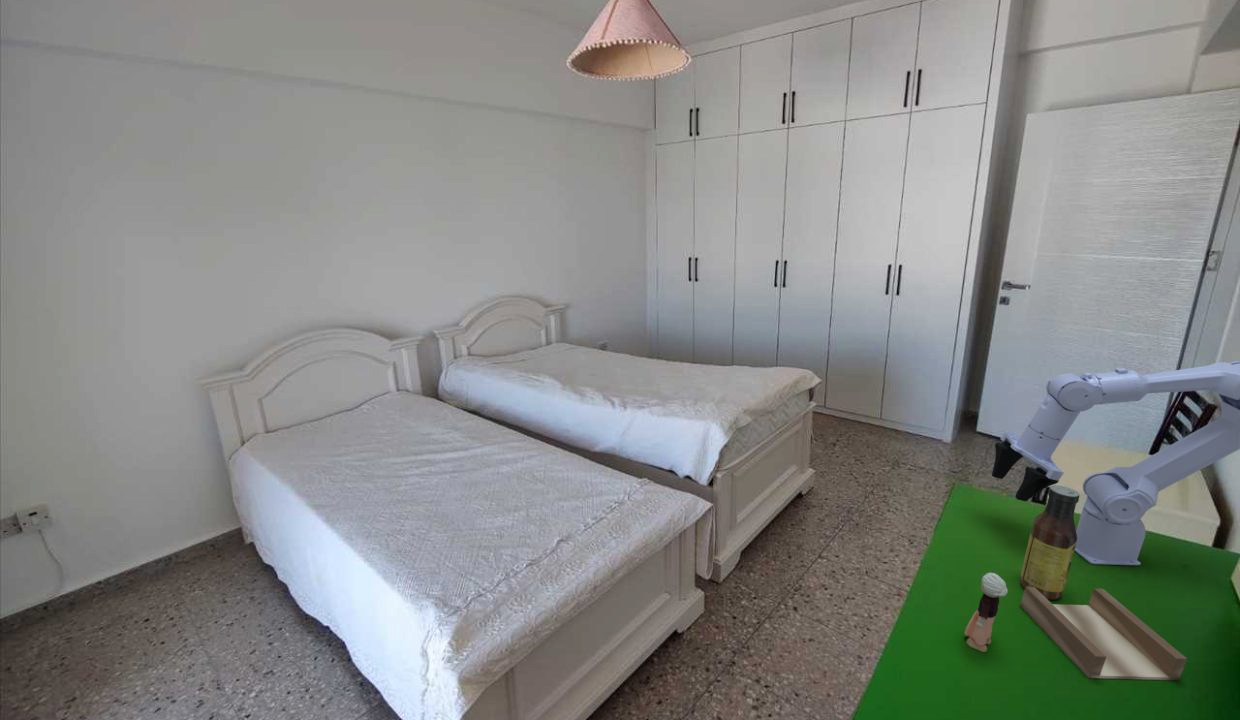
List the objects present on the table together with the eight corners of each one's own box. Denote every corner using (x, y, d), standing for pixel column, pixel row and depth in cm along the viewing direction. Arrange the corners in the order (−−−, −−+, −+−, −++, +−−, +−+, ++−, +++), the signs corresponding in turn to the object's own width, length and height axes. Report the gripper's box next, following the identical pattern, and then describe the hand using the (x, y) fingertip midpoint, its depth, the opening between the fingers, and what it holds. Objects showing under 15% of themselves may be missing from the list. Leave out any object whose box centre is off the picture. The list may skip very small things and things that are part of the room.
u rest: (1096, 607, 92) (1102, 588, 91) (1178, 680, 78) (1187, 658, 77) (1020, 605, 92) (1025, 586, 91) (1088, 677, 78) (1096, 656, 77)
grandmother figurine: (967, 623, 88) (983, 558, 85) (994, 634, 86) (1012, 568, 82) (959, 652, 83) (976, 584, 79) (989, 665, 80) (1007, 595, 77)
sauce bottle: (1069, 604, 93) (1100, 504, 87) (1029, 598, 94) (1057, 499, 88) (1048, 579, 99) (1076, 484, 93) (1011, 574, 100) (1036, 480, 94)
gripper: (1002, 410, 111) (969, 463, 116) (1053, 446, 97) (1013, 505, 102) (1033, 418, 111) (999, 471, 116) (1088, 455, 98) (1047, 514, 103)
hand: (1008, 488), depth 109 cm, fingers open, 7 cm apart
